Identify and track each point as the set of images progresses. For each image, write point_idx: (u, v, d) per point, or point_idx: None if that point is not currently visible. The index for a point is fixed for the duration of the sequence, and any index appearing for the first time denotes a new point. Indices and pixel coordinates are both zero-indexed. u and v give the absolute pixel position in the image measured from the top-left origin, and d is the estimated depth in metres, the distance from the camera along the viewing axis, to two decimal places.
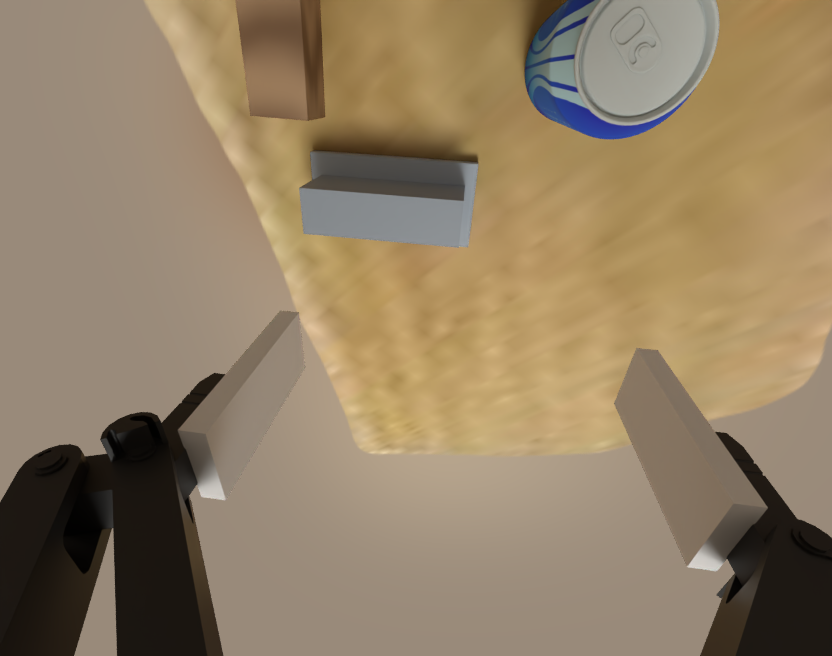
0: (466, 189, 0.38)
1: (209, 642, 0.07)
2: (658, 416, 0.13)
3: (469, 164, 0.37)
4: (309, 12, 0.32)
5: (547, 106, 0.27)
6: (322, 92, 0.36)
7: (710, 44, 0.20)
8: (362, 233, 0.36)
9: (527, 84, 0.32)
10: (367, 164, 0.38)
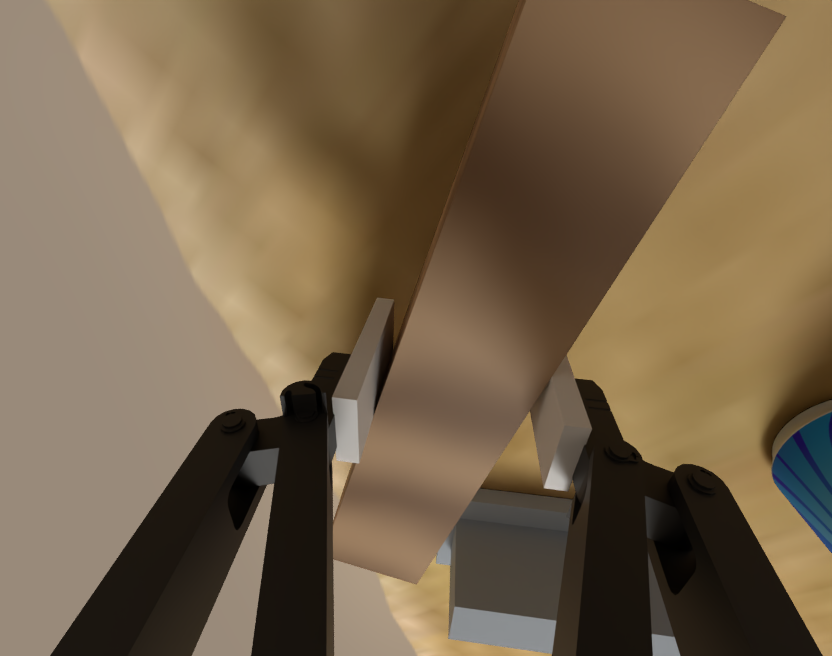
0: None
1: (328, 610, 0.08)
2: None
3: None
4: None
5: None
6: None
7: None
8: (533, 647, 0.26)
9: (786, 485, 0.23)
10: (522, 514, 0.29)
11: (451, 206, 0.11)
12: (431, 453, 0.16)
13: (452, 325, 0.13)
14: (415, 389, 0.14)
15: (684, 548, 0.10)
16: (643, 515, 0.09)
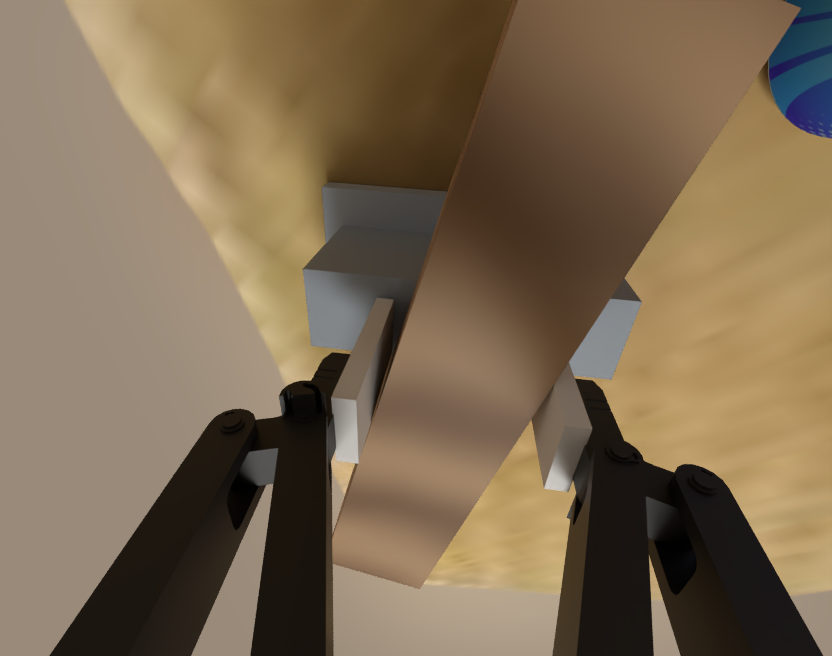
0: None
1: (327, 610, 0.08)
2: None
3: None
4: None
5: None
6: None
7: None
8: None
9: (789, 57, 0.15)
10: (425, 209, 0.21)
11: (445, 214, 0.10)
12: (431, 462, 0.15)
13: (449, 335, 0.12)
14: (413, 399, 0.14)
15: (685, 549, 0.10)
16: (644, 515, 0.09)
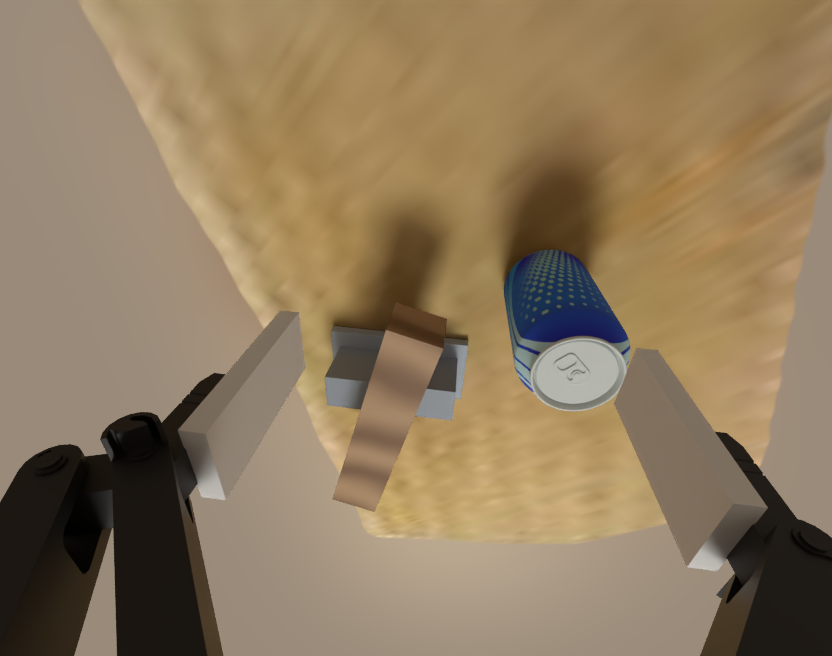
0: (458, 361, 0.47)
1: (209, 642, 0.07)
2: (658, 417, 0.13)
3: (461, 345, 0.46)
4: None
5: None
6: None
7: (622, 375, 0.28)
8: None
9: None
10: (378, 341, 0.47)
11: (370, 381, 0.36)
12: (373, 454, 0.41)
13: (374, 412, 0.38)
14: (365, 431, 0.39)
15: None
16: None
